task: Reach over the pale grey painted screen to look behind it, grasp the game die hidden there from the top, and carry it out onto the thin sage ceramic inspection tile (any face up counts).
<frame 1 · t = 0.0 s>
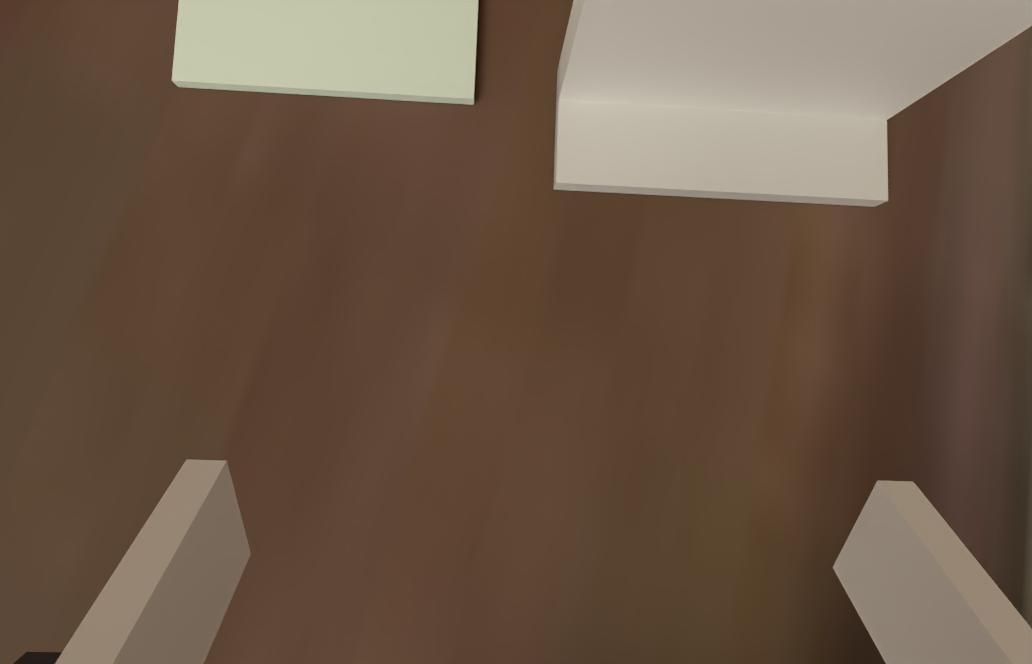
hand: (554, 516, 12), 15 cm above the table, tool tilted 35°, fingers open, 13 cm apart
screen: (717, 99, 30), on the table
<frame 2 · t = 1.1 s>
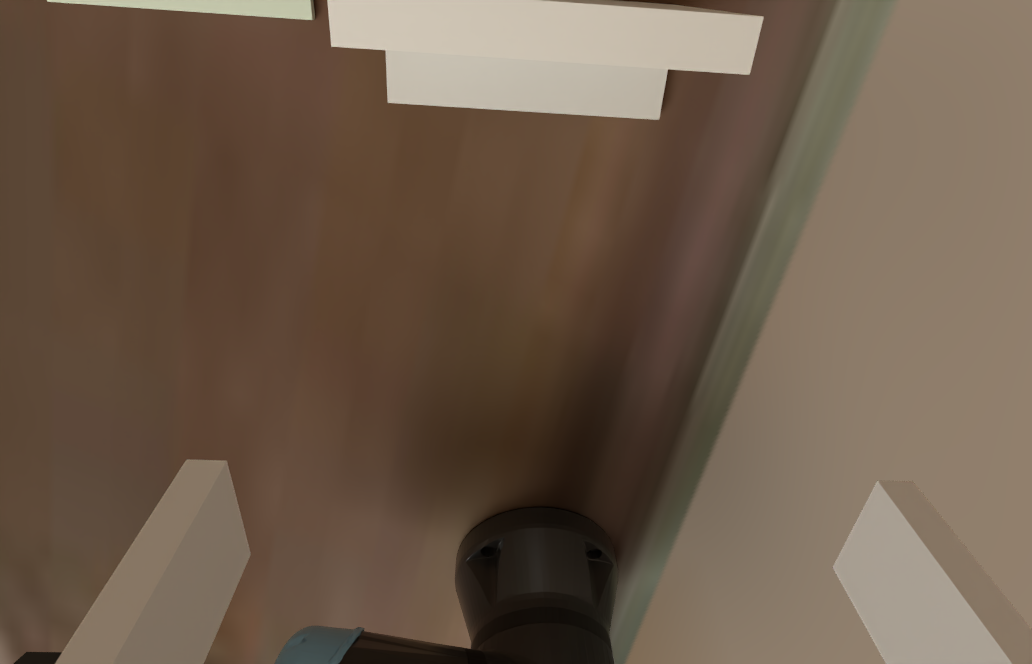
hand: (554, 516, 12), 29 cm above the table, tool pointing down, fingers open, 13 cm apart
screen: (530, 14, 33), on the table
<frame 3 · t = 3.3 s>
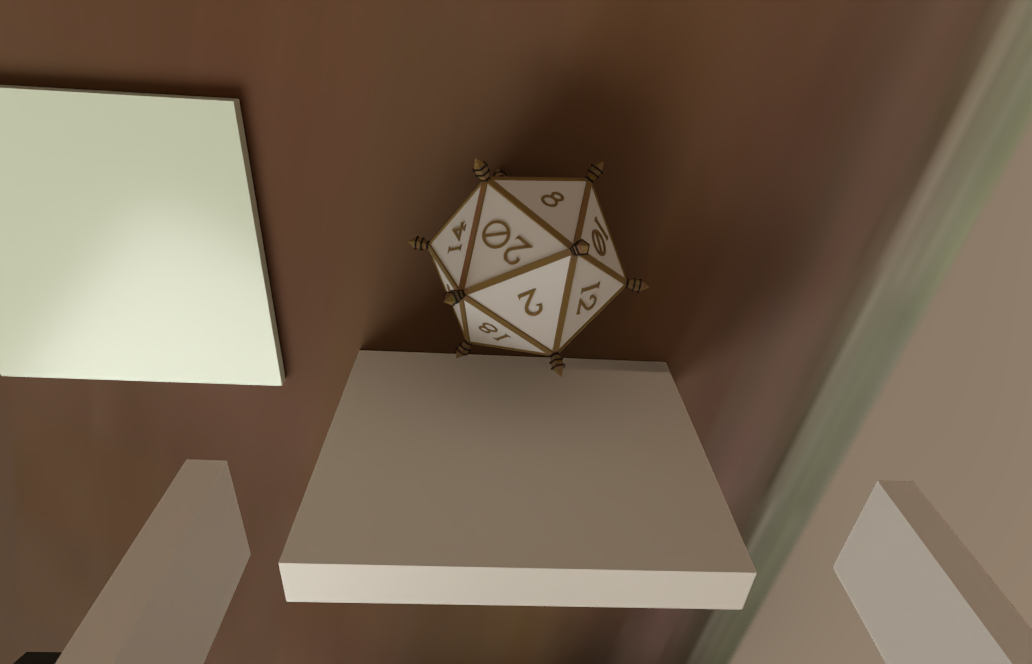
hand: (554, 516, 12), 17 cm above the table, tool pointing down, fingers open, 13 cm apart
game die: (523, 227, 28), on the table
tile: (111, 249, 28), on the table
screen: (513, 371, 32), on the table
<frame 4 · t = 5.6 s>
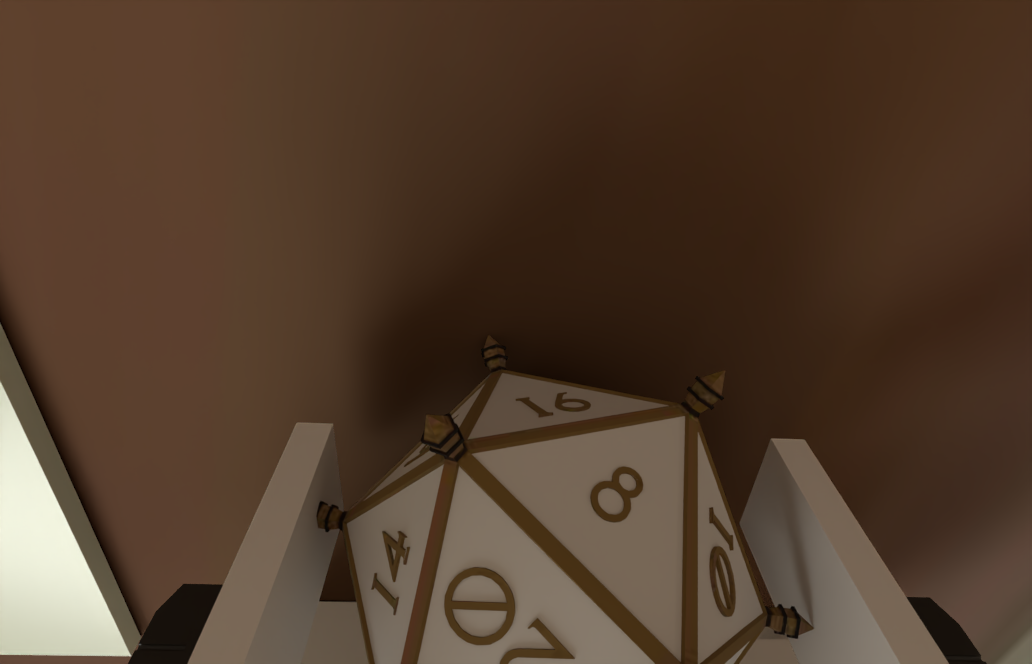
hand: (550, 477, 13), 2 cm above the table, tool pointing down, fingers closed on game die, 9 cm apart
game die: (537, 424, 15), on the table, touching gripper
screen: (521, 624, 19), on the table
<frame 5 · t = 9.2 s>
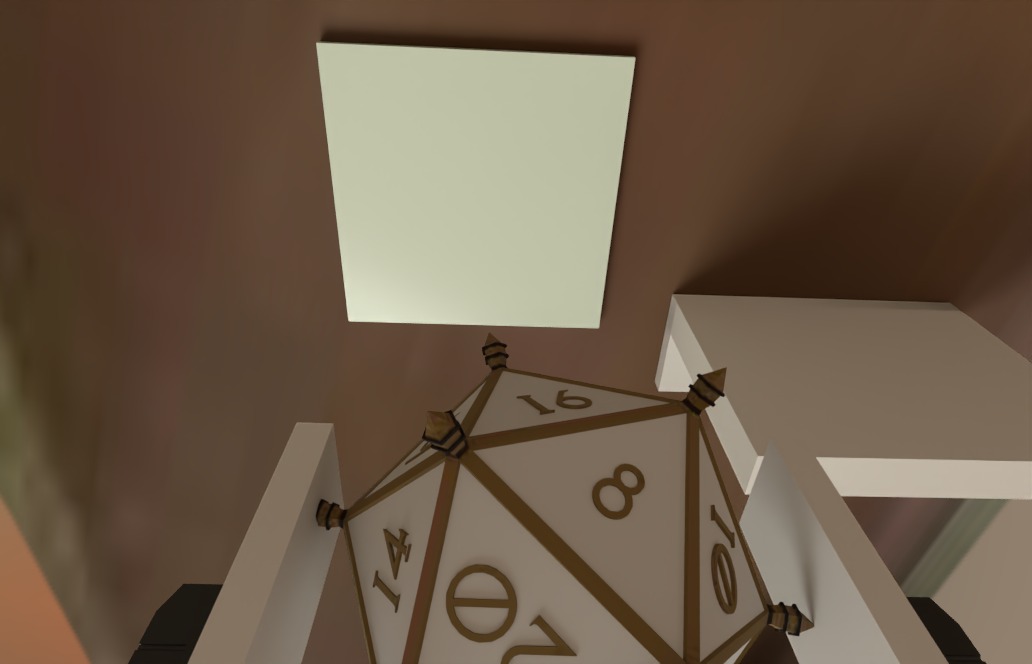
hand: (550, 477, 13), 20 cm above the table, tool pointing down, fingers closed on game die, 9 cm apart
game die: (538, 423, 15), point 18 cm above the table, touching gripper
tile: (476, 200, 30), on the table
screen: (807, 313, 34), on the table
when the fingers open (3 cm above the table, at t = 13.2 s): game die stays where it is, resting on tile.
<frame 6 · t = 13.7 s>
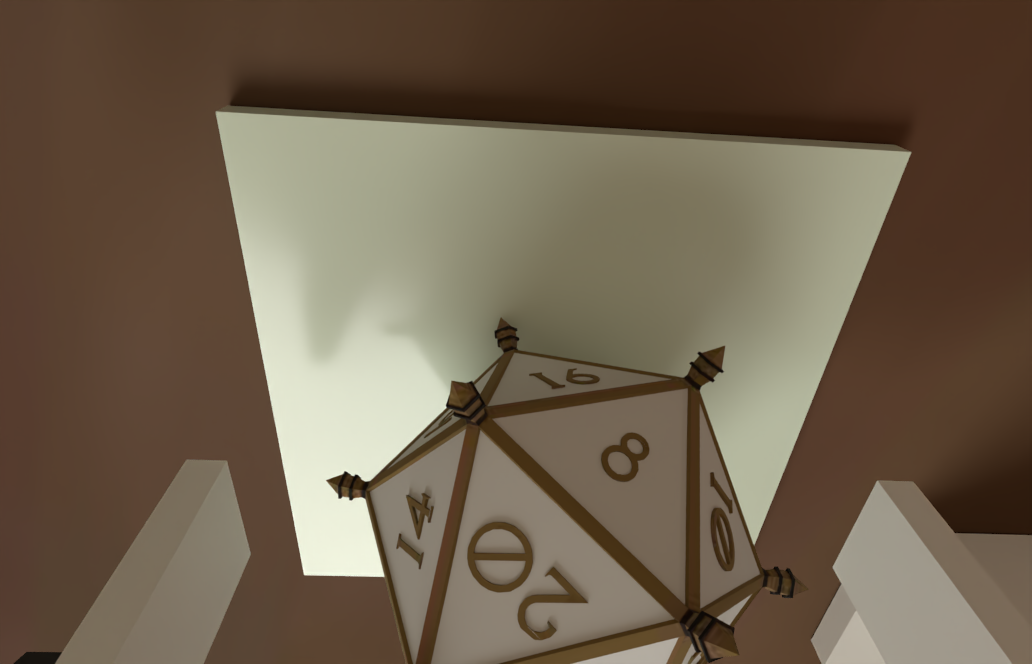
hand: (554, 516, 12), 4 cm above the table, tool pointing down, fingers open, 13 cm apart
game die: (546, 405, 16), resting on tile
tile: (542, 394, 16), on the table
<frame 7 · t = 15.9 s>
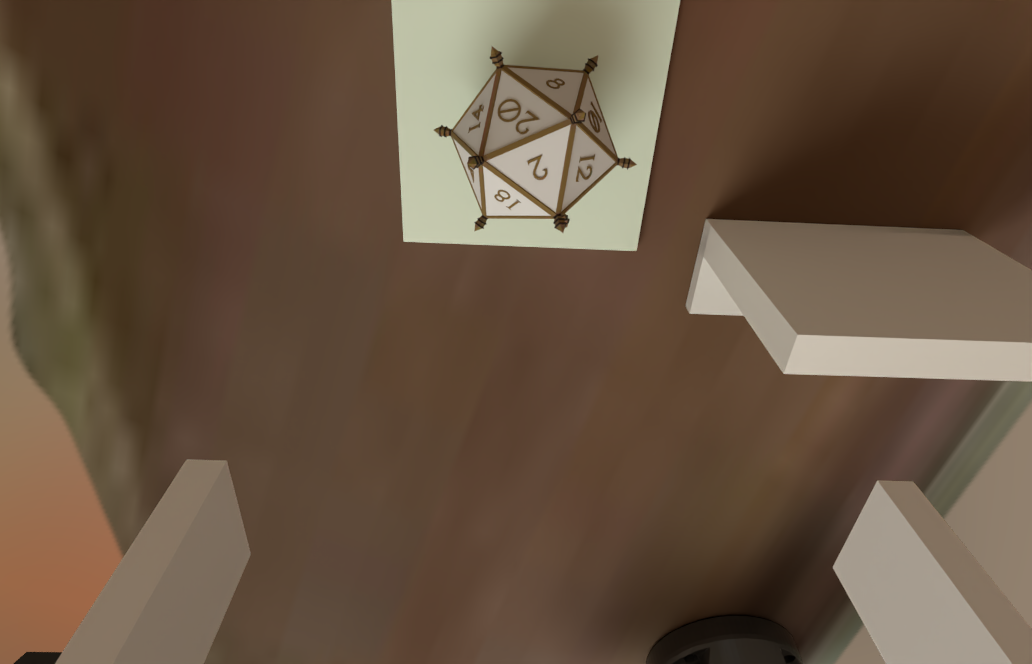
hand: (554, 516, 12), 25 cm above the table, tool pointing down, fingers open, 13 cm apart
game die: (530, 126, 32), resting on tile
tile: (528, 123, 33), on the table
screen: (830, 239, 37), on the table
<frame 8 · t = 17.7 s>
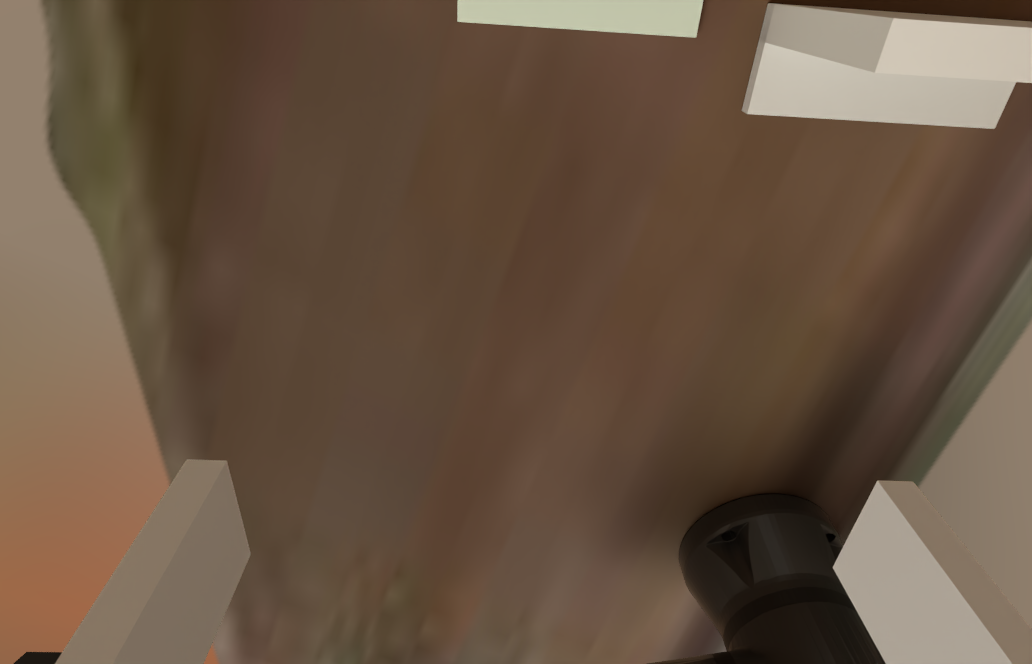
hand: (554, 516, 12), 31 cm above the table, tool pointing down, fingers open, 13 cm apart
screen: (894, 31, 36), on the table
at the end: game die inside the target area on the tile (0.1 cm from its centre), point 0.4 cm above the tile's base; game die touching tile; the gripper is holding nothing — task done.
